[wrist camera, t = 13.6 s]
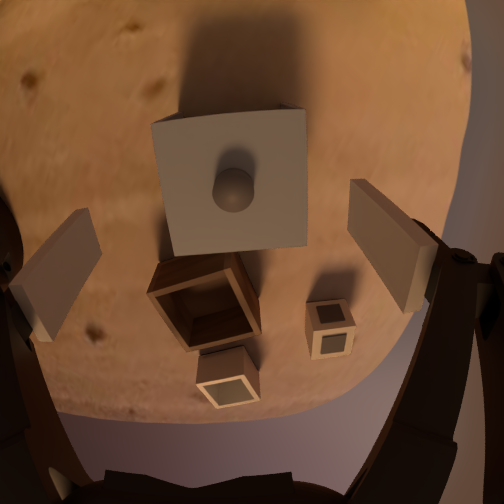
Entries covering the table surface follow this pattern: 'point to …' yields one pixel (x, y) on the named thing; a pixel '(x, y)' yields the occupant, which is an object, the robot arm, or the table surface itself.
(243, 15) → the table surface
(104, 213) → the table surface
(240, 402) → the beige tub
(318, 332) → the cream boxy hollow piece
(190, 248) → the cover
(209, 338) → the walnut bin
